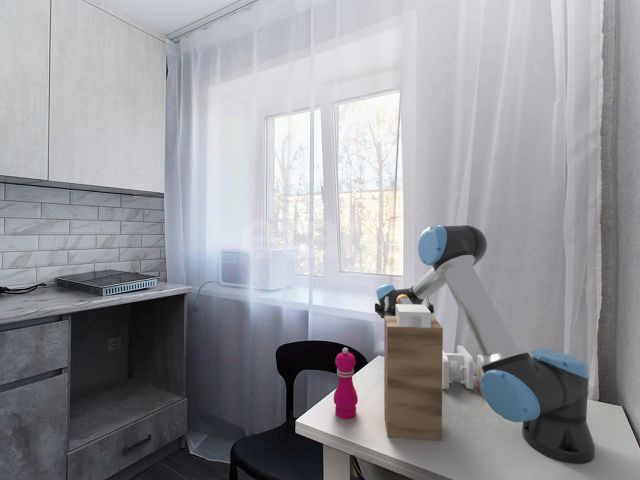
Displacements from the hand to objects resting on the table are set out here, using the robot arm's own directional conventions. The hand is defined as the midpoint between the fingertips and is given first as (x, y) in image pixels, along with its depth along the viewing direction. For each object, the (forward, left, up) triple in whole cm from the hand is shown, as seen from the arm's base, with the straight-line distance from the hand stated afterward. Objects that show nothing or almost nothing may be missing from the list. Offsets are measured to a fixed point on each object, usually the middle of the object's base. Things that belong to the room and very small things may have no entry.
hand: (407, 301), depth 99 cm
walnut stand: (-7, +5, -34) cm, 35 cm away
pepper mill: (+8, +17, -34) cm, 39 cm away
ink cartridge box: (-6, -30, -34) cm, 46 cm away
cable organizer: (+5, -26, -34) cm, 43 cm away
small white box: (-2, +1, -4) cm, 5 cm away
